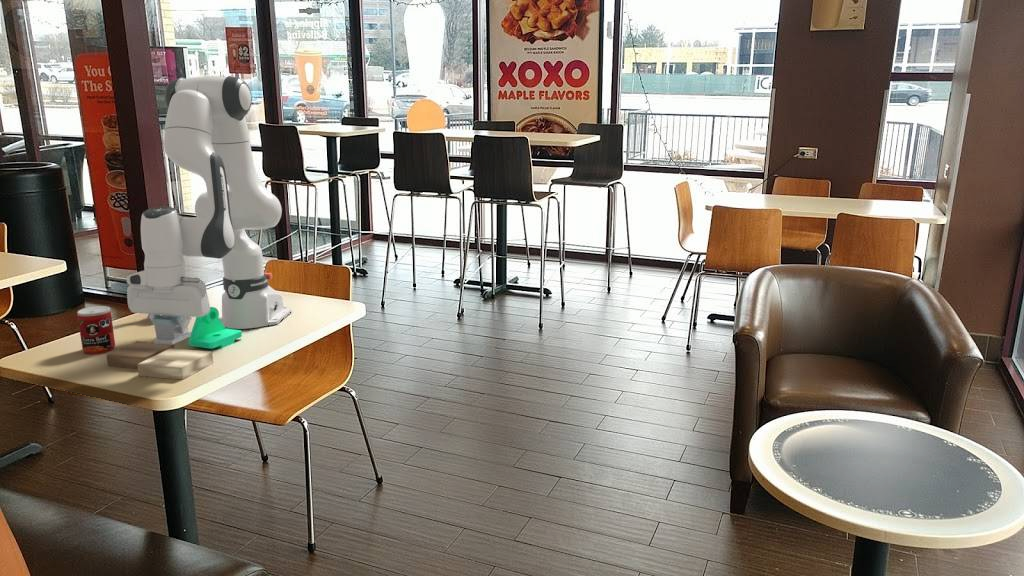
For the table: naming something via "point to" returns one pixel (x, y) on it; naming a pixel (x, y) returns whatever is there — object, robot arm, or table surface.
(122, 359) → the stand
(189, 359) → the stand
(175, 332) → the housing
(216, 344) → the camera mount
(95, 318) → the canned food
